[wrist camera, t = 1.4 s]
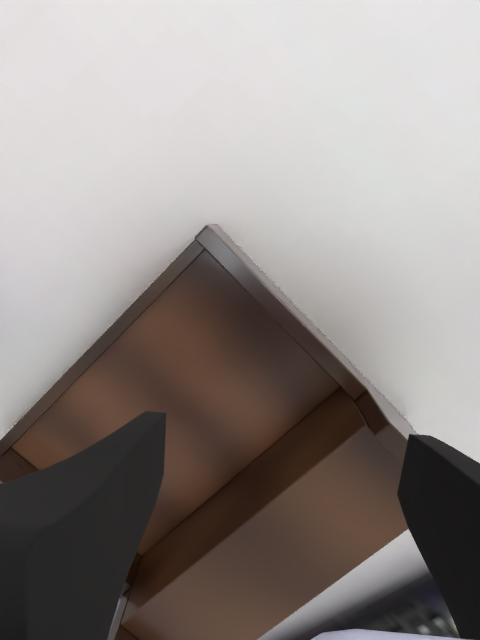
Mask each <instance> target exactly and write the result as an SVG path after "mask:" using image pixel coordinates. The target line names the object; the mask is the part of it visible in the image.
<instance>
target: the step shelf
mask: <svg viewBox="0 0 480 640" xmlns="http://www.w3.org/2000/svg"><path fill="white" fill-rule="evenodd" d="M145 411H154V412H165V413H166V435H165V460H164V475H163V479H162V483H161V487H160V491H159V495H158V498H157V502H156V505H155V508H154V510H153V513H152V515H151V518H150V520H149V523H148V525H147V528H146V530H145V533H144V535H143V538H142V540H141V542H140V545H139V547H138V550H137V552H136V555H135V557H134V560H133V562H132V565H131V567H130V569H129V572H128V575H127V577H126V580H125V583H124V586H123V588H122V591H121V595H122V598H121V601H120V604H119V607H118V609H117V612H116V615H115V618H114V621H113V624H112V627H111V630H110V632H109V635H108V639H107V640H257V639H259V638H260V637H261V636H263V635H264V634H265V633H267V632H268V631H269V630H271V629H272V628H274V627H275V626H276V625H278V624H279V623H280V622H282V621H283V620H284V619H286V618H287V617H289V616H290V615H291V614H293V613H294V612H295V611H297V610H298V609H299V608H301V607H302V606H304V605H305V604H306V603H308V602H309V601H310V600H312V599H313V598H314V597H316V596H317V595H319V594H320V593H321V592H323V591H324V590H325V589H327V588H328V587H330V586H331V585H332V584H334V583H335V582H336V581H338V580H339V579H340V578H342V577H343V576H345V575H346V574H347V573H349V572H350V571H351V570H353V569H354V568H355V567H357V566H358V565H360V564H361V563H362V562H364V561H365V560H366V559H368V558H369V557H370V556H372V555H373V554H375V553H376V552H377V551H379V550H380V549H381V548H383V547H384V546H385V545H387V544H388V543H390V542H391V541H392V540H394V539H395V538H396V537H398V536H399V535H400V534H402V533H403V532H405V531H406V530H407V529H409V528H408V526H407V523H406V520H405V517H404V514H403V511H402V508H401V505H400V502H399V499H398V496H397V492H398V487H399V482H400V477H401V472H402V467H403V462H404V457H405V452H406V447H407V442H408V437H409V434H416V435H418V434H417V433H416V431H415V430H414V429H413V428H412V426H411V425H410V424H409V422H408V421H407V420H406V419H405V418H404V417H403V416H402V415H401V414H400V413H399V412H398V411H397V410H396V409H395V408H394V407H393V406H392V405H391V403H390V402H389V401H388V400H387V399H386V398H385V397H384V396H383V395H382V394H381V393H380V392H379V391H378V390H377V389H376V388H375V387H374V386H373V385H372V384H371V383H370V382H369V381H368V380H367V379H366V378H365V377H364V376H363V375H362V374H361V373H360V372H359V371H358V369H357V368H356V367H355V366H354V365H353V364H352V363H351V362H350V361H348V359H347V358H346V357H345V356H344V355H343V354H342V353H341V352H340V351H339V350H338V349H337V348H336V347H335V346H334V345H333V344H332V343H331V342H330V341H329V340H328V339H327V338H326V337H325V335H324V334H323V333H322V332H321V331H320V330H319V329H318V328H317V327H316V326H315V325H314V324H313V323H312V322H311V321H310V320H309V319H308V318H307V317H306V316H305V315H304V314H303V313H302V312H301V311H300V310H299V309H298V308H297V307H296V306H295V305H294V304H293V303H292V301H291V300H290V299H289V298H288V297H287V296H286V295H285V294H284V293H283V292H282V291H281V290H280V289H279V288H278V287H277V286H276V285H275V284H274V283H273V282H272V281H271V280H270V279H269V278H268V277H267V276H266V275H265V274H264V273H263V272H262V271H261V270H260V268H259V267H258V266H257V265H256V264H255V263H254V262H253V261H252V260H251V259H250V258H249V257H248V256H247V255H246V254H245V253H244V252H243V251H242V250H241V249H240V248H239V247H238V246H237V245H236V244H235V243H234V242H233V241H232V240H231V239H230V238H229V237H228V236H227V234H226V233H225V232H224V231H223V230H222V229H221V228H220V227H219V226H218V225H217V224H212V225H207V226H205V227H204V228H203V229H202V230H201V231H200V232H199V233H198V234H197V235H196V236H195V240H194V241H193V242H192V243H191V244H190V245H189V246H188V247H187V248H186V249H185V250H184V251H183V252H182V253H181V254H180V256H179V257H178V258H177V259H176V260H175V261H174V262H173V263H172V264H171V265H170V266H169V267H168V268H167V269H166V270H165V271H164V272H163V273H162V274H161V275H160V276H159V277H158V278H157V279H156V280H155V281H154V282H153V283H152V284H151V285H150V286H149V288H148V289H147V290H146V291H145V292H144V293H143V294H142V295H141V296H140V297H139V298H138V299H137V300H136V301H135V302H134V303H133V304H132V305H131V306H130V307H129V308H128V309H127V310H126V311H125V312H124V313H123V314H122V315H121V316H120V317H119V318H118V319H117V321H116V322H115V323H114V324H113V325H112V326H111V327H110V328H109V329H108V330H107V331H106V332H105V333H104V334H103V335H102V336H101V337H100V338H99V339H98V340H97V341H96V342H95V343H94V344H93V345H92V346H91V347H90V348H89V349H88V350H87V351H86V353H85V354H84V355H83V356H82V357H81V358H80V359H79V360H78V361H77V362H76V363H75V364H74V365H73V366H72V367H71V368H70V369H69V370H68V371H67V372H66V373H65V374H64V375H63V376H62V377H61V378H60V379H59V380H58V381H57V382H56V383H55V385H54V386H53V387H52V388H51V389H50V390H49V391H48V392H47V393H46V394H45V395H44V396H43V397H42V398H41V399H40V400H39V401H38V402H37V403H36V404H35V405H34V406H33V407H32V408H31V409H30V410H29V411H28V412H27V413H26V414H25V415H24V417H23V418H22V419H21V420H20V421H19V422H18V423H17V424H16V425H15V426H14V427H13V428H12V429H11V430H10V431H9V432H8V433H7V434H6V435H5V436H4V437H3V438H2V439H1V440H0V484H2V483H6V482H9V481H12V480H15V479H17V478H20V477H23V476H26V475H28V474H31V473H34V472H37V471H39V470H42V469H44V468H47V467H49V466H52V465H54V464H56V463H58V462H60V461H63V460H65V459H67V458H69V457H71V456H73V455H75V454H77V453H79V452H81V451H82V450H84V449H86V448H88V447H89V446H91V445H93V444H95V443H96V442H98V441H100V440H102V439H103V438H105V437H107V436H108V435H110V434H111V433H113V432H114V431H116V430H117V429H119V428H120V427H122V426H124V425H125V424H127V423H128V422H129V421H131V420H132V419H134V418H135V417H137V416H138V415H140V414H142V413H143V412H145Z"/></svg>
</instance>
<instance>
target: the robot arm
mask: <svg viewBox="0 0 480 640" xmlns="http://www.w3.org/2000/svg"><path fill="white" fill-rule="evenodd" d="M165 435H166V413H165V412H154V411H145V412H143V413H142V414H140V415H138V416H137V417H135V418H134V419H132V420H131V421H129V422H128V423H127V424H125V425H124V426H122V427H120V428H119V429H117V430H116V431H114V432H113V433H111V434H110V435H108V436H107V437H105V438H103V439H102V440H100V441H98V442H96V443H95V444H93V445H91V446H89V447H88V448H86V449H84V450H82V451H81V452H79V453H77V454H75V455H73V456H71V457H69V458H67V459H65V460H63V461H60V462H58V463H56V464H54V465H52V466H49V467H47V468H44V469H42V470H39V471H37V472H34V473H31V474H28V475H26V476H23V477H20V478H17V479H15V480H12V481H9V482H6V483H2V484H0V640H107V639H108V635H109V632H110V630H111V627H112V624H113V621H114V618H115V615H116V612H117V609H118V607H119V604H120V601H121V599H120V595H121V591H122V588H123V586H124V583H125V580H126V577H127V575H128V572H129V569H130V567H131V565H132V562H133V560H134V557H135V555H136V552H137V550H138V547H139V545H140V542H141V540H142V538H143V535H144V533H145V530H146V528H147V525H148V523H149V520H150V518H151V515H152V513H153V510H154V508H155V505H156V502H157V498H158V495H159V491H160V487H161V483H162V479H163V475H164V460H165ZM397 496H398V499H399V502H400V505H401V508H402V511H403V514H404V517H405V520H406V523H407V526H408V528H409V530H410V532H411V534H412V536H413V538H414V540H415V542H416V544H417V547H418V549H419V551H420V553H421V555H422V557H423V559H424V561H425V563H426V565H427V567H428V569H429V571H430V573H431V575H432V577H433V579H434V581H435V583H436V585H437V587H438V589H439V591H440V593H441V595H442V597H443V599H444V601H445V603H446V605H447V607H448V609H449V611H450V614H451V616H452V618H453V620H454V623H455V625H456V628H457V630H458V633H459V635H460V638H461V639H460V638H449V637H438V636H427V635H417V634H406V633H395V632H384V631H373V630H363V629H351V630H342V631H333V632H324V633H321V634H319V635H318V636H316V637H314V638H313V639H311V640H480V463H478V462H476V461H475V460H473V459H471V458H470V457H468V456H466V455H465V454H463V453H461V452H460V451H458V450H456V449H455V448H453V447H451V446H449V445H448V444H446V443H444V442H442V441H440V440H438V439H436V438H434V437H432V436H427V435H416V434H409V437H408V442H407V447H406V452H405V457H404V462H403V467H402V472H401V477H400V482H399V487H398V492H397Z"/></svg>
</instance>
